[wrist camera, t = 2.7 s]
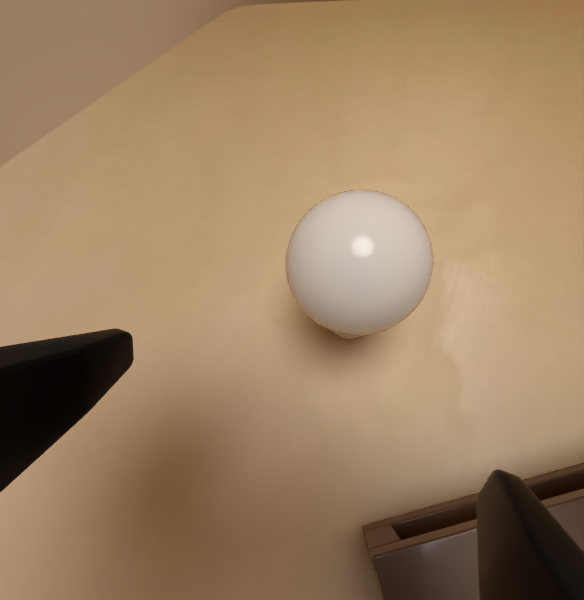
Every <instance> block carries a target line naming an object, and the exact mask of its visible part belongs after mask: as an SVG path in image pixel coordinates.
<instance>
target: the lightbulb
mask: <svg viewBox="0 0 584 600" xmlns="http://www.w3.org/2000/svg"><path fill="white" fill-rule="evenodd" d="M432 271H433V250H432V245H431V241H430V238H429V235H428V233H427V230H426V228H425V226H424V225H423V223H422V222H421V220H420V219H419V217H418V216H417V215H416V214H415V213H414V212H413V211H412V210H411V209H410V208H409V207H408V206H407V205H406V204H404V203H403V202H401V201H400V200H398V199H396V198H394V197H392V196H390V195H388V194H385V193H382V192H378V191H373V190H349V191H344V192H340V193H337V194H334V195H332V196H330V197H327V198H325V199H324V200H322V201H320V202H319V203H317V204H316V205H315V206H313V207H312V208H311V209H310V210H309V211H308V212H307V213H306V214H305V215H304V216H303V217H302V219H301V220H300V221H299V223H298V224H297V226H296V227H295V229H294V231H293V233H292V236H291V238H290V241H289V244H288V248H287V253H286V276H287V281H288V284H289V287H290V290H291V293H292V295H293V297H294V299H295V300H296V302H297V304H298V305H299V306H300V308H301V309H302V310H303V311H304V312H305V313H306V314H307V315H308V316H309V317H310V318H311V319H312V320H313V321H315V322H316V323H318V324H319V325H321V326H323V327H325V328H327V329H329V330H331V331H334V332H335V333H336V334H337V335H338V336H340V337H343V338H347V339H353V338H357V337H360V336H361V335H369V334H374V333H378V332H382V331H384V330H387V329H389V328H391V327H393V326H395V325H397V324H398V323H400V322H401V321H403V320H404V319H405V318H407V317H408V316H409V315H410V314H411V313H412V312H413V311H414V310H415V309H416V307H417V306H418V305H419V303H420V302H421V301H422V299H423V297H424V295H425V293H426V291H427V289H428V287H429V284H430V280H431V277H432Z"/></svg>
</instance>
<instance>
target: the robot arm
mask: <svg viewBox="0 0 584 600" xmlns="http://www.w3.org/2000/svg"><path fill="white" fill-rule="evenodd" d="M132 362H133V339H132V336H131V334H130V333H128V332H126V331H123V330H120V329H109V330H103V331H97V332H91V333H85V334H78V335H72V336H66V337H60V338H53V339H47V340H41V341H35V342H28V343H22V344H16V345H10V346H3V347H0V492H1V491H2V490H4V489H5V488H6V487H7V486H8V485H9V484H10V483H11V482H12V481H13V480H15V479H16V478H17V477H18V476H19V475H20V474H21V473H22V472H23V471H24V470H25V469H27V468H28V467H29V466H30V465H31V464H32V463H33V462H34V461H35V460H36V459H38V458H39V457H40V456H41V455H42V454H43V453H44V452H45V451H46V450H47V449H49V448H50V447H51V446H52V445H53V444H54V443H55V442H56V441H57V440H58V439H59V438H61V437H62V436H63V435H64V434H65V433H66V432H67V431H68V430H69V429H70V428H72V427H73V426H74V425H75V424H76V423H77V422H78V421H79V420H80V419H81V418H82V417H84V416H85V415H86V414H87V413H88V412H89V411H90V410H91V409H92V408H93V407H94V406H95V405H96V403H97V402H98V401H99V400H100V399H101V398H102V397H103V396H104V395H105V394H106V393H107V392H108V390H109V389H110V388H111V387H112V386H113V385H114V384H115V383H116V382H117V381H118V380H119V379H120V377H121V376H122V375H123V374H124V373H125V372H126V371H127V370H128V369H129V368H130V366H131V365H132ZM476 513H477V546H478V578H479V593H480V600H584V551H583V550H582V549H581V548H580V547H579V545H578V544H577V543H576V542H575V541H574V540H573V539H572V537H571V536H570V535H569V534H568V533H567V532H566V530H565V529H564V528H563V527H562V526H561V525H560V523H559V522H558V521H557V520H556V519H555V518H554V516H553V515H552V514H551V513H550V512H549V511H548V509H547V508H546V507H545V506H544V505H543V504H542V502H541V501H540V500H539V499H538V498H537V497H536V495H535V494H534V493H533V492H532V491H531V490H530V488H529V487H528V486H527V485H526V484H525V483H524V481H523V480H522V479H521V478H519V477H518V476H516V475H513V474H510V473H508V472H505V471H502V470H495V471H493V472H492V473H491V475H490V477H489V478H488V480H487V482H486V483H485V485H484V487H483V488H482V490H481V492H480V493H479V495H478V498H477V504H476Z"/></svg>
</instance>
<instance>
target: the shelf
mask: <svg viewBox="0 0 584 600" xmlns="http://www.w3.org/2000/svg"><path fill="white" fill-rule="evenodd" d="M523 481H524V483H525V484H526V485H527V486H528V487H529V488H530V490H531V491H532V492H533V493H534V494H535V495H536V497H537V498H538V499H539V500H540V501H541V502H542V504H543V505H544V506H545V507H546V508H547V509H548V511H549V512H550V513H551V514H552V515H553V516H554V518H555V519H556V520H557V521H558V522H559V523H560V525H561V526H562V527H563V528H564V529H565V530H566V532H567V533H568V534H569V535H570V536H571V537H572V539H573V540H574V541H575V542H576V543H577V544H578V545H579V547H580V548H581V549H582V550H583V551H584V463H582V464H579V465H575V466H572V467H568V468H565V469H561V470H558V471H554V472H551V473H547V474H544V475H540V476H536V477H533V478H529V479H526V480H523ZM478 495H479V493H477V494H473V495H470V496H466V497H463V498H459V499H456V500H452V501H449V502H445V503H442V504H438V505H435V506H431V507H428V508H424V509H421V510H417V511H414V512H410V513H407V514H403V515H400V516H396V517H393V518H389V519H386V520H382V521H379V522H375V523H371V524H368V525H364V526H363V527H362V529H363V532H364V536H365V539H366V543H367V546H368V549H369V553H370V556H371V560H372V563H373V567H374V570H375V573H376V577H377V580H378V584H379V587H380V591H381V594H382V597H383V600H480V593H479V578H478V546H477V513H476V504H477V498H478Z"/></svg>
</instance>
